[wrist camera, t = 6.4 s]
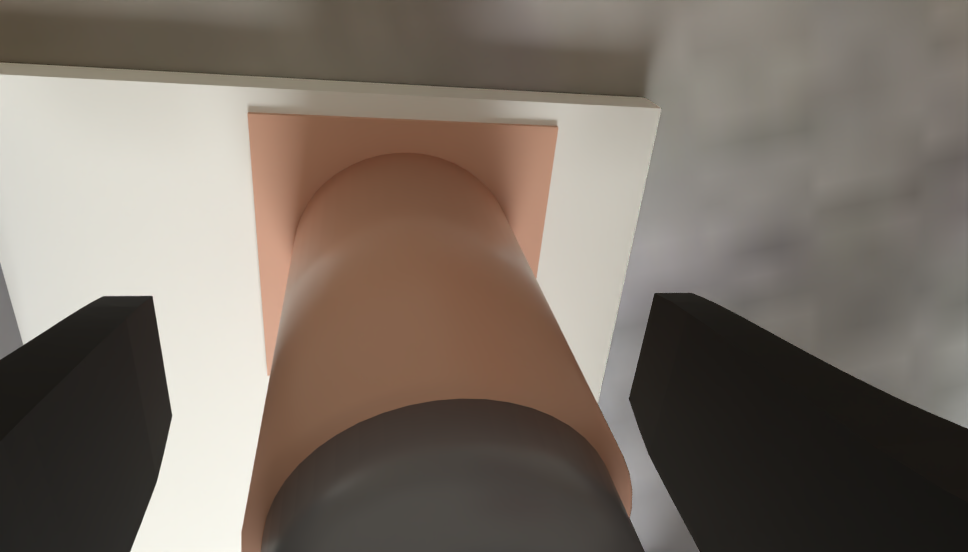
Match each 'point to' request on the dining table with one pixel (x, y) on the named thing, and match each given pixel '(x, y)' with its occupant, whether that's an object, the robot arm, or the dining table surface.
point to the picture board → (277, 226)
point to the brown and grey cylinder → (426, 385)
